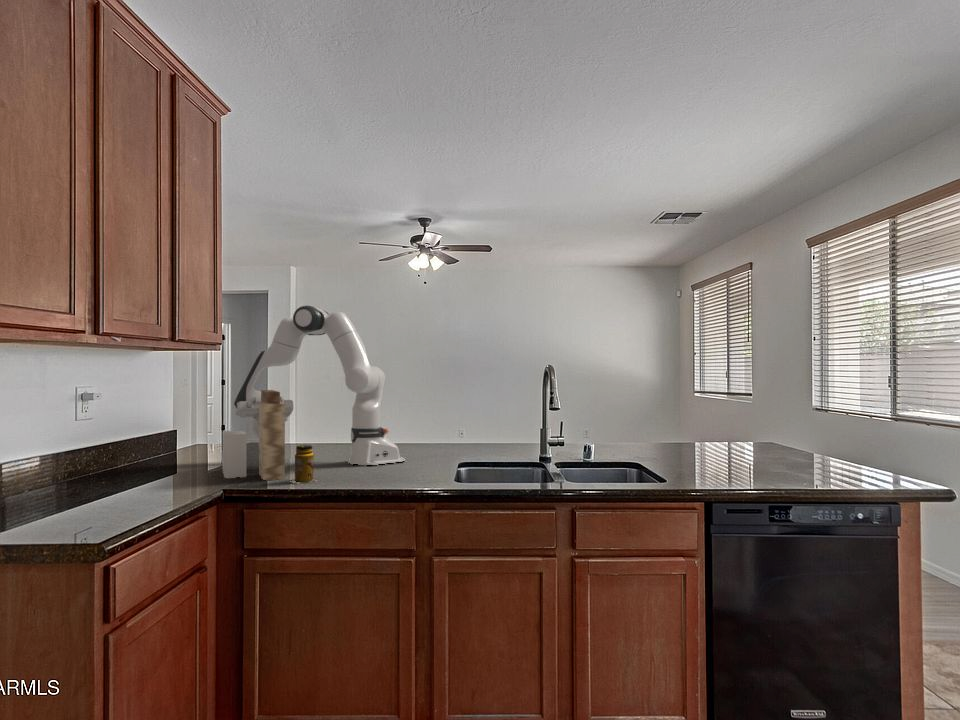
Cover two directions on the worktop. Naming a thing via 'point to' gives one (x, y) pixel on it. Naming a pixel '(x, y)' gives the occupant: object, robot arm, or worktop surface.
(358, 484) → the worktop surface
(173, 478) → the worktop surface
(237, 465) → the step
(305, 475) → the condiment
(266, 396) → the bar
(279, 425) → the stand
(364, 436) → the robot arm
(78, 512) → the worktop surface
